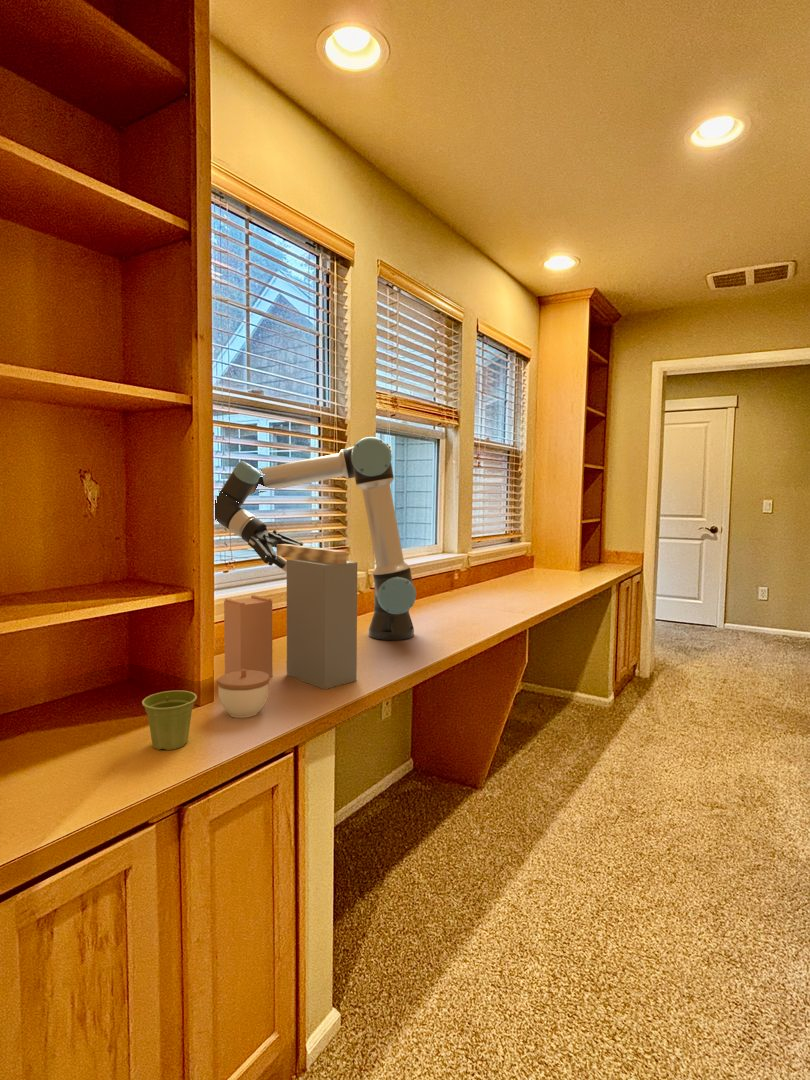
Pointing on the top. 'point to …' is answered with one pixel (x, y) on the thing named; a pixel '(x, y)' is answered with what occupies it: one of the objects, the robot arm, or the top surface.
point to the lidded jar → (243, 692)
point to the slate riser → (322, 622)
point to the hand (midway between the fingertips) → (306, 566)
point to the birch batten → (312, 553)
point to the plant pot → (169, 718)
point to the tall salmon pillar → (248, 634)
